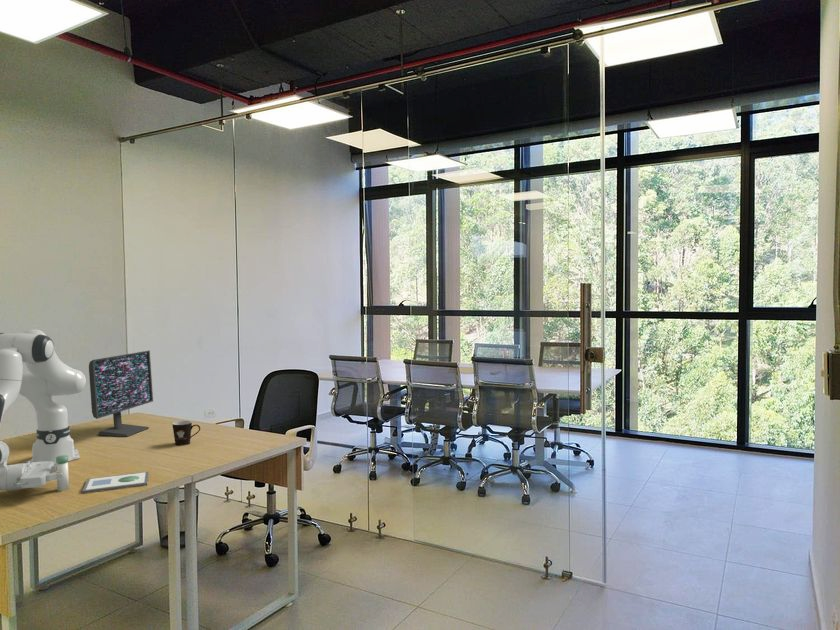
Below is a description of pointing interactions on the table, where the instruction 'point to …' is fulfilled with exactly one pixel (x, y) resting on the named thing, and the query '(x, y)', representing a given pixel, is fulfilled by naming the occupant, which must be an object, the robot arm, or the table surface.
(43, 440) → the robot arm
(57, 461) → the marker
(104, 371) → the computer monitor
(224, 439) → the table surface
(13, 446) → the table surface
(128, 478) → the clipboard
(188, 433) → the coffee mug
